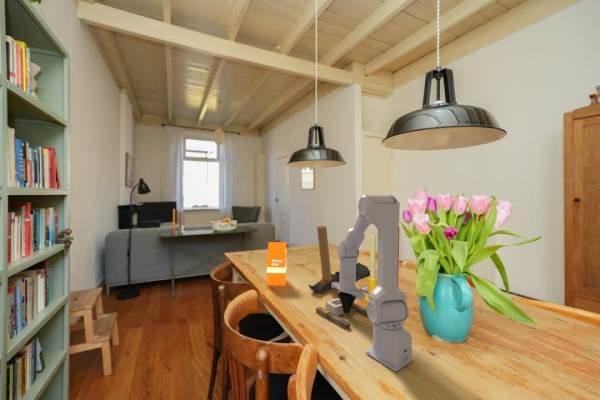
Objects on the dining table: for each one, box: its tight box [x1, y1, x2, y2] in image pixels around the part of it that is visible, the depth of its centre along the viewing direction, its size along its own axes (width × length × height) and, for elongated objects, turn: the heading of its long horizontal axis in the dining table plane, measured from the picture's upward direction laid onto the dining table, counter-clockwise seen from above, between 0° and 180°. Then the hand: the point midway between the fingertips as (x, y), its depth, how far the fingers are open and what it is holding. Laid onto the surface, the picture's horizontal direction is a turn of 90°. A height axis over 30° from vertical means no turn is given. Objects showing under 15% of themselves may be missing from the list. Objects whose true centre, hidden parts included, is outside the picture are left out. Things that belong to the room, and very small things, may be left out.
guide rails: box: [315, 301, 369, 330], centre depth 94 cm, size 15×15×2 cm
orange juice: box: [266, 241, 287, 286], centre depth 127 cm, size 8×9×20 cm
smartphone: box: [358, 285, 369, 294], centre depth 116 cm, size 1×7×15 cm
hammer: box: [307, 225, 340, 294], centre depth 119 cm, size 20×5×30 cm, turn 137°
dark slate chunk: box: [334, 262, 371, 282], centre depth 142 cm, size 15×22×5 cm
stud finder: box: [324, 297, 345, 316], centre depth 97 cm, size 6×8×4 cm
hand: (347, 313), depth 93 cm, fingers closed
